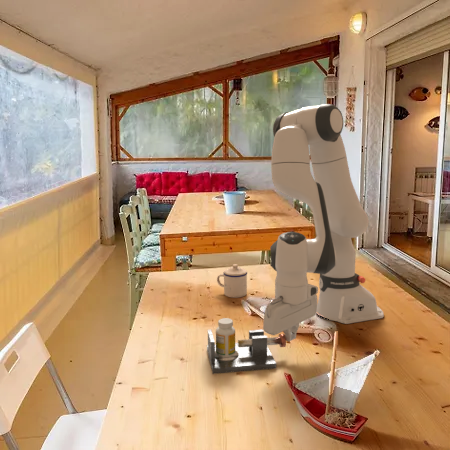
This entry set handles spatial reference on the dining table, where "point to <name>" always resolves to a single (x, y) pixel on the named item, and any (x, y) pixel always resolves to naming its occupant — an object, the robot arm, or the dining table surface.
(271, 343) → the ram
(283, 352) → the dining table surface
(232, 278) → the teacup with lid
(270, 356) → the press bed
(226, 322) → the supplement bottle
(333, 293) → the robot arm
